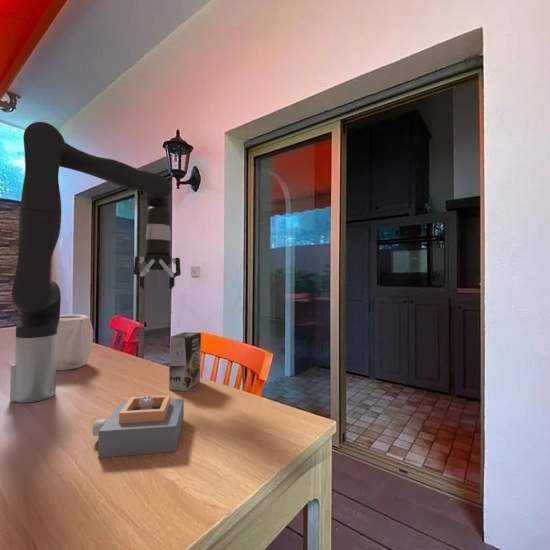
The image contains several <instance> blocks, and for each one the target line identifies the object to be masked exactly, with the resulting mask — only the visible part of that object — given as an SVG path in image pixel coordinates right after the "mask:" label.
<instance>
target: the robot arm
mask: <svg viewBox="0 0 550 550" xmlns="http://www.w3.org/2000/svg"><path fill="white" fill-rule="evenodd" d="M22 141H23V148H24V149H23V150H24V151H23V152H24V177H23V183H22V190H21V198H20V208H19V217H18V221H19V222H18V227H19V228H18V245H17V246H18V247H17V251H18V253H17V262H16V263H17V264H16V269H15V275H14V278H13V279H14V280H13V282H12V283H13V284H12V289H11V298H12V301H13V304H14V306H15V307H17V308H18V309H20V311H21V317H20V320H19V322H18V324H17V325H16V326H15V339H14V342H15V343H14V352H15V353H14V364H12V365H11V366H10V382H9V383H10V385H9V387H10V388H9V389H10V391H9V402H16V403H19V404H23V403H33V402H35V403H36V402H39V401H40V402H41V401H44V400H47V399H49V398H52V397H54V396H55V395H56V393H57V392H56V389H57V383H56V382H57V370H56V351H57V327H58V324H59V319H60V315H61V302H62V301H61V299H62V298H61V297H62V296H61V295H62V293H61V289H60V287H59V285H58V283H57V282H55V280H54V279H51V263H52V262H51V261H52V257H53V253H54V251H55V248H56V246H57V244H58V240H59V238H60V234H61V228H62V197H61V191H60V181H59V171H60V168H65V169H68V170H73V171H76V172H80V173H84V174H86V175H90V176H91V177H92V176H93V177H95V178H98V179H101V180H103V181H106V182H108V183H111V184H114V185H116V186H119V187H122V188H124V189H127V190H129V191H139V192H143V193H146V201H147V204H146V205H147V214H146V217H147V221H146V222H147V224H146V229H145V230H146V232H145V256H144V257H142V256H138V255H136V256H135V257H134V265H133V266H134V267H133V274H134V275H135V276H138V277H139V287H141V289H144V290H145V289H146V287H147V284H146V283H147V281H146V279H147V278H146V275H147V274H148V273H149V272H150V271H151V270H152V271H164V270H165V271H166V273H167V274H168V275H169V285H168V287H169V290H172V289H173V288H174V287H175V285H176V284H175V283H176V281H175V279H176V277H179V276H181V273H182V272H181V258H180V257H173V258H172V256H171V240H172V235H171V213H170V209H169V196H171V195H172V192H173V185H172V183H171V182H170V180H169V179H168V178H166V177H165V176H162V175H160V174H157V173H154V172H149V171H147V170H142V169H138V168H136V167H134V166H131V165H129V164H127V163H124V162H121V161H119V160H115V159H113V158H110V157H105V156H100V155H95V154H91V153H88V152H86V151H82V150H81V149H78V148H77V147H74V146H73V145H71V144H69V143H67V142H66V141H65V139H64V137H63V135H62V134H61V131H59V129H57V127H55V126H54V125H52V124H50V123H49V122H46V121H35V122H32V123H30V124H29V125H28V126H26V128H25V129H24V133H23V140H22ZM143 262H145V264H146V265H145V267H144V268H143V270H142V271H141V264H143ZM171 263H173V264H174V265H175V272H173V270H172V268H171V267H170V266H169V265H170V264H171Z"/></svg>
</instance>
